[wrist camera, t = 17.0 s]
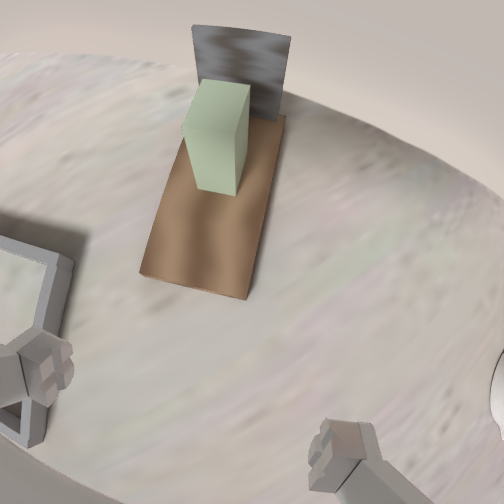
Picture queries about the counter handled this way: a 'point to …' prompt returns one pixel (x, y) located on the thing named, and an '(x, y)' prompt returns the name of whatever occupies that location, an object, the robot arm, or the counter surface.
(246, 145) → the sage green box
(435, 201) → the counter surface
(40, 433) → the gray square frame
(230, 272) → the bookend
